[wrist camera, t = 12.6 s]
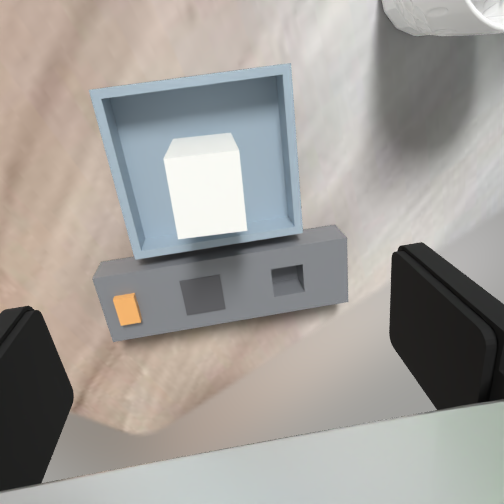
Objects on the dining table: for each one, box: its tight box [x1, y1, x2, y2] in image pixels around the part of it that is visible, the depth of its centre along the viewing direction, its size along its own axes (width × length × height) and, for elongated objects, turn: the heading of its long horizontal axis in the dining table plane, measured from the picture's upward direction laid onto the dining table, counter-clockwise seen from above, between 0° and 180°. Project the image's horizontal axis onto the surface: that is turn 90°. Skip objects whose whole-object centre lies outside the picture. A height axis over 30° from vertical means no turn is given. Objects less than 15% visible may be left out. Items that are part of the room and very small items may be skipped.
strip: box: [92, 225, 348, 342], centre depth 33 cm, size 20×6×4 cm, turn 97°
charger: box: [164, 133, 247, 239], centre depth 26 cm, size 4×5×9 cm
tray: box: [89, 63, 303, 260], centre depth 29 cm, size 13×12×3 cm
